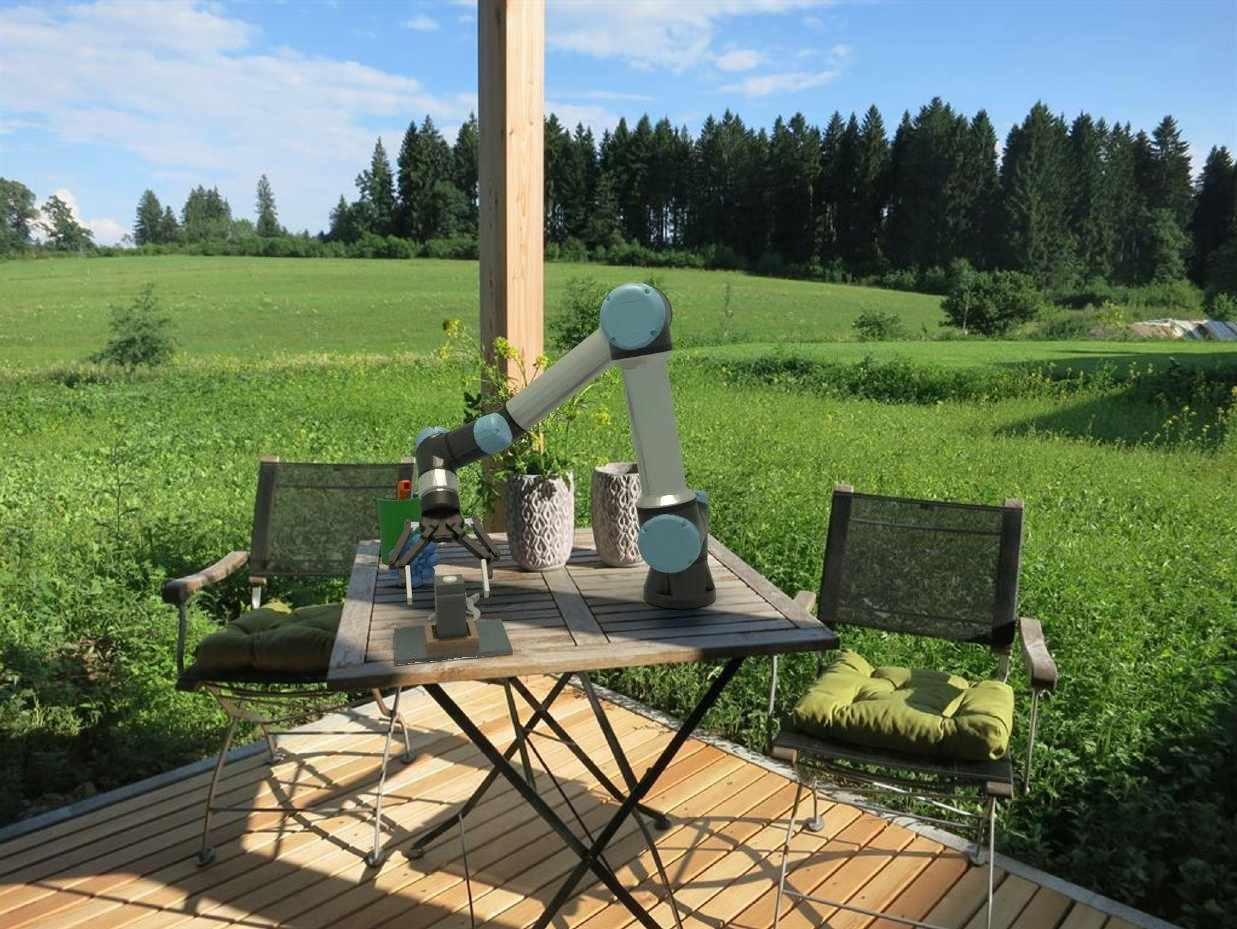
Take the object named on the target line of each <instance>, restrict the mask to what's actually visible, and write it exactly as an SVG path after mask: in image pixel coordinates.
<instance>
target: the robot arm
mask: <svg viewBox="0 0 1237 929" xmlns="http://www.w3.org/2000/svg"><path fill="white" fill-rule="evenodd" d="M673 312H674V311H673V307H672V303H671V302H670V299H669V298H668V296H667V295H666V294H665V293H664V291H662V290H661V289H659V288H657V287H656V286H653V285H650V284H646V283H643V282H638V281H637V282H628V283H626V284H621V285H620V286H617V287H616V288H614V289H613V290H612V291H611V292H609V293H608V294H607V296H606V297H605V298H604V300H603V302H602V305H601V307H600V312H599V326H598V329H596V330H595V331H594V332H593V333H591V334H590V335H588V336H587V337H586V338H585V339H584V340H582V341H581V342H580V343H579V344H578V345H576V346H575V347H574V348H572V349H571V350H570V351H569V352H567V353H566V354H564V356H563V357H561V358H560V359H559V360H557V361H556V362H555V363H554V364H552V365H551V366H550V367H549V368H547V369H546V370H545V371H544V372H543V373H541V374H540V375H538V376H537V377H536V378H535V379H534V380H532V381H531V382H530V383H528V385H526V386H525V387H524V388H522V389H521V390H520V391H519V392H518V393H515V395H514V396H512V397H511V398H510V399H509V400H508V401H506V402H505V403H504V404H502V405H501V406H499V407H498V408H497V409H496V410H494V411H493V412H492V413H490V414H487V415H483V416H481V417H479V418H477V419H475V420H472V421H470V422H468V423H466V424H464V425H462V426H459V427H458V428H455V429H453V430H449V429H448V428H446V427H443V426H437V425H434V427H431V426H428V427H426V428H423V429H422V430H420V431H419V432H418V433H417V434H416V437H415V451H414V455H415V456H414V457H415V460H416V468H417V469H416V470H417V487H418V494H419V499H420V513H421V520H420V522H411V520H410V519H406V520H405V522H404V530H403V532H402V534H401V536H400V538H399V540H398V542H397V544H396V546H395V548H394V550H393V552H392V554H391V556H390V558H389V560H388V565H387V566H388V568H389V569H390V570H394V569H395V570H398V571H399V579H400V586H399V587H401V588H404V587H406V596H407V597H406V599H407V600H406V601H407V606H411V605H413V594H412V592H413V591H412V586H411V577H410V565H411V564H412V562H413V561H414V560H415V559H416V558H417V557H418V555H419V554H420V553H421V552H422V551H423V550H424V548H425V547H427V546H428V545H429V544H430V543H431V542H434V543H435V544H436V545H437V544H442V543H447V544H450V543H451V544H452V542H456V543H457V544H458V545H461V546H462V547H463V548H465V549H466V550H467V551H468V552H469V553H471V554H472V555H473V556H474V557H475V558H476V559H478V560H479V561H480V572H481V573H480V574H481V582H482V590H483V597H484V598H485V599H488V598H489V596H490V583H489V580H493V576H494V568H493V563H495V562H500V559H501V550H500V548H499V547H498V546H497V545H496V543H495V542H494V541H493V539H492V538H491V537H490V535H489V534H488V532H487V531H486V530H485V529H484V527H483V526H482V524H481V521H480V518H479V515H478V514H473V515H471V517H469V518H464V517H463V515H462V510H461V503H460V497H459V495H460V492H459V484H458V483H459V482H458V476H457V475H458V474H457V471H458V470H459V469H461V468H465V467H468V466H469V465H471V464H473V463H476V462H478V461H481V460H484V459H485V458H488V457H490V456H494V455H497V454H500V453H501V452H503V451H504V450H506V449H508V448H510V447H512V446H513V445H515V444H516V443H517V442H518V441H519V440H520V439H521V437H523V436H524V435H525V434H526V433H528V432H529V431H530V430H531V429H532V428H534V427H535V426H536V425H537V424H540V422H541V421H543V420H545V418H547V417H548V416H549V415H550V414H552V413H553V412H554V411H556V410H557V409H558V408H560V407H561V406H562V405H564V403H566V402H567V401H569V400H570V399H571V398H573V397H574V396H575V395H576V394H578V393H579V392H580V391H582V390H583V389H584V388H585V387H586V386H588V385H589V384H590V383H592V382H593V381H595V380H596V379H597V378H598V377H599V376H601V375H602V374H603V373H604V372H606V371H607V370H609V369H610V368H611V367H613V366H614V365H615V366H617V368H619V369H620V370H621V376H622V382H623V389H624V392H625V393H624V394H625V400H626V406H627V411H628V416H629V417H628V419H629V424H630V430H631V436H632V442H633V449H634V454H635V461H636V466H637V472H638V477H639V478H638V479H639V484H640V491H641V495H640V497H639V498H638V499H637V501H636V502H635V510H636V515H637V522H638V526H639V531H638V536H637V549H638V552H639V555H640V557H641V558H642V560H643V561H644V563H646V565H648V566H649V569H648V572H647V575H646V578H645V581H644V583H643V588H642V589H643V591H642V596H643V600H644V601H645V602H646V603H648V604H650V605H653V606H656V607H659V608H660V607H661V608H666V609H680V610H681V609H682V610H684V609H686V610H687V609H696V608H702V607H705V606H708V605H711V604H713V603H714V602H716V597H717V596H716V595H717V594H716V593H717V589H716V588H717V587H716V585H715V581H714V578H713V575H712V572H711V569H710V565H709V559H708V557H709V556H708V554H709V552H708V548H709V546H708V545H709V544H708V543H709V539H708V538H709V507H710V503H709V495H708V493H707V492H706V491H703V490H699V489H690V488H689V487H688V486H687V482H686V476H685V468H684V463H683V457H682V450H681V445H680V438H679V432H678V424H677V418H676V412H675V406H674V400H673V393H672V387H671V381H670V376H669V375H670V374H669V369H668V360H669V359H670V357H671V356H672V354H673V353H674V348H673V340H672V334H671V326H672V323H673V317H674V314H673ZM465 527H467V528H468V529H469V530H470V531H473V532H472V533H473V534H474V535H475V537H476V538H477V540H478V541H479V542H480V544H481V545H482V546H483V547H482V546H481V545H480V544H479V543H478V542H477V541H475V540H474V539H473V538H471V536H469V535H468V534H467V533H466V531H465V530H464V528H465ZM417 529H419V530H420V531H421V532H422V535H421V536H420V538H419V539H418V540H417V542H416V543H415V544H414V545H413V546H412V547H411V549H410V550H409V551H408V552H407V553H406V554H405V555H404V557H403V558H402V559H401V560H400V558H401V556H402V554H403V552H404V550H405V548H406V546H407V544H408V542H409V540H410V537H411V534H414V533H415V531H416V530H417ZM399 560H400V561H399Z"/></svg>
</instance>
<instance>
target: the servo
mask: <svg viewBox="0 0 1237 929" xmlns="http://www.w3.org/2000/svg"><path fill="white" fill-rule="evenodd" d="M433 590H434V610H435V611H434V612H435V623H436V635H437V639H445V638H456V637H467V627H466V620H467V613H466V611H467V608H466V607H467V606H466V597H467V593H466V594H465V592H466V583H465V580H464V577H463V574H462V573H459V574H457V573H456V574H447V575H446V574H444V575H434V577H433Z"/></svg>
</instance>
